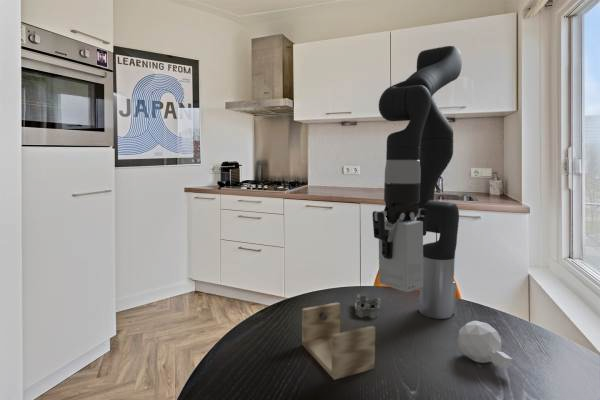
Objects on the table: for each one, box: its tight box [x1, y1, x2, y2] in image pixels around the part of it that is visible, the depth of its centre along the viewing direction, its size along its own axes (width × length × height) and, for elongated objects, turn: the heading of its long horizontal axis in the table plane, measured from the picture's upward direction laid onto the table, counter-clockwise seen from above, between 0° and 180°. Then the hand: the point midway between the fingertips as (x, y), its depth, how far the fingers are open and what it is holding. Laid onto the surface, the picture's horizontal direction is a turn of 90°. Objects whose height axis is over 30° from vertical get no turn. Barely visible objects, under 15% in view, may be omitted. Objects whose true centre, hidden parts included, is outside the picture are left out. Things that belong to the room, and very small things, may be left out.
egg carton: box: [354, 292, 382, 319], centre depth 111 cm, size 10×7×4 cm
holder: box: [301, 302, 376, 381], centre depth 85 cm, size 10×16×9 cm, turn 24°
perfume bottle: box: [457, 320, 513, 369], centre depth 82 cm, size 9×9×12 cm
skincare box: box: [378, 218, 424, 293], centre depth 82 cm, size 8×6×15 cm
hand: (399, 256), depth 82 cm, fingers closed on skincare box, 6 cm apart
